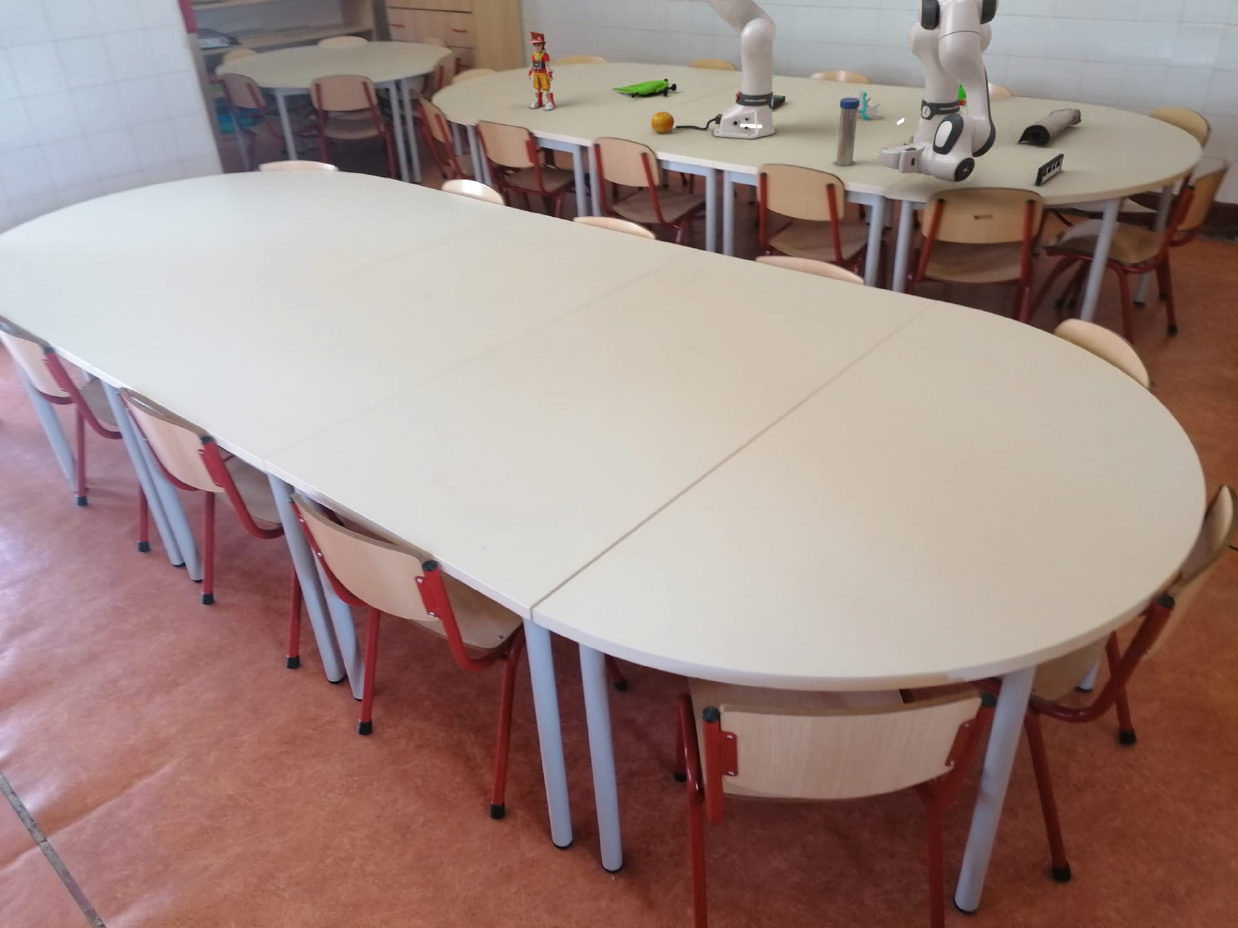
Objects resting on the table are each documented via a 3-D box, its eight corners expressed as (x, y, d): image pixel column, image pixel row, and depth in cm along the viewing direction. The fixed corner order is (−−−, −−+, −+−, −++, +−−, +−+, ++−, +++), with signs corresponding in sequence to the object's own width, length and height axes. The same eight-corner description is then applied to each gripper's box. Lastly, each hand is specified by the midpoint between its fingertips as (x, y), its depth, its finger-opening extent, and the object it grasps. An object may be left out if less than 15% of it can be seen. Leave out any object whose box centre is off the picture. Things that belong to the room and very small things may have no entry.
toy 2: (686, 85, 398) (631, 84, 414) (685, 72, 395) (629, 72, 411) (651, 104, 381) (596, 103, 397) (650, 92, 378) (594, 91, 394)
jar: (845, 166, 295) (851, 104, 283) (833, 163, 298) (838, 101, 287) (855, 163, 297) (861, 101, 286) (843, 160, 301) (848, 98, 289)
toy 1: (525, 109, 381) (517, 32, 364) (534, 104, 388) (527, 28, 371) (550, 110, 377) (543, 32, 360) (559, 105, 384) (553, 28, 367)
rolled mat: (1047, 113, 322) (1072, 96, 314) (1061, 134, 323) (1087, 117, 314) (1013, 137, 305) (1039, 118, 297) (1028, 159, 305) (1054, 142, 297)
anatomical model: (845, 88, 346) (871, 81, 345) (848, 116, 352) (873, 109, 351) (857, 98, 334) (883, 90, 333) (859, 126, 340) (885, 119, 339)
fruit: (644, 124, 337) (655, 105, 334) (651, 127, 345) (662, 108, 342) (662, 136, 336) (673, 117, 333) (668, 139, 344) (680, 120, 341)
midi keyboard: (1039, 185, 269) (1043, 168, 266) (1035, 184, 270) (1038, 168, 267) (1060, 170, 279) (1064, 154, 277) (1056, 169, 280) (1060, 153, 277)
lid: (850, 110, 284) (851, 103, 283) (836, 107, 288) (836, 100, 287) (863, 106, 287) (863, 99, 286) (848, 103, 291) (848, 96, 290)
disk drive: (770, 111, 358) (785, 102, 368) (771, 104, 356) (785, 95, 366) (747, 109, 362) (762, 100, 372) (747, 102, 361) (762, 93, 371)
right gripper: (953, 141, 267) (920, 132, 278) (900, 152, 260) (868, 142, 270) (949, 162, 271) (917, 152, 281) (897, 174, 263) (866, 163, 274)
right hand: (893, 147), depth 276 cm, fingers open, 8 cm apart
